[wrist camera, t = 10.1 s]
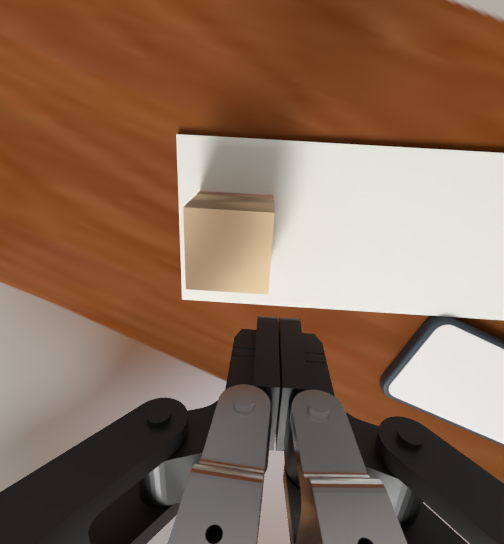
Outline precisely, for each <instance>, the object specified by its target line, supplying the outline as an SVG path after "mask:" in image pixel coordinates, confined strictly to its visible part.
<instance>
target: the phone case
mask: <svg viewBox="0 0 504 544" xmlns="http://www.w3.org/2000/svg"><path fill="white" fill-rule="evenodd" d="M380 386H381V388H382V390H383V392H384V394H385V395H386V396H388V397H390V398H392V399H394V400H397V401H399V402H401V403H404V404H406V405H408V406H411V407H413V408H415V409H418V410H420V411H422V412H425V413H427V414H429V415H432V416H434V417H436V418H439V419H441V420H443V421H446V422H448V423H450V424H453V425H455V426H457V427H460V428H462V429H464V430H467V431H469V432H471V433H474V434H476V435H478V436H481V437H483V438H485V439H488V440H490V441H492V442H495V443H497V444H499V445H502V446H504V340H501V339H499V338H497V337H495V336H493V335H491V334H489V333H486V332H484V331H482V330H480V329H478V328H476V327H474V326H471V325H469V324H467V323H465V322H463V321H461V320H459V319H456V318H454V317H444V316H431V317H430V318H428V319H427V320H426V321H425V322H424V323H423V325H422V326H421V327H420V328H419V330H418V331H417V332H416V333H415V335H414V336H413V337H412V338H411V340H410V341H409V342H408V343H407V345H406V346H405V347H404V348H403V350H402V351H401V352H400V353H399V355H398V356H397V357H396V358H395V360H394V361H393V362H392V363H391V365H390V366H389V367H388V368H387V370H386V371H385V372H384V373H383V375H382V376H381V378H380Z"/></svg>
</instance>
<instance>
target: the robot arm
mask: <svg viewBox="0 0 504 544" xmlns="http://www.w3.org/2000/svg"><path fill="white" fill-rule="evenodd" d="M324 354H325V353H324V349H323V344H322V342H321V341H320V340H319V339H318V338H317V337H316V336H315V334H307V333H302V330H301V323H300V319H293V318H279V323H278V317H263V316H258V320H257V330H249V329H242V330H241V331H240V332H239V333H238V334H237V335H236V336H235V338H234V344H233V349H232V355H231V361H230V367H229V372H228V378H227V384H226V389H225V391H224V392H223V393H222V394H221V396H220V397H219V400H218V401H216V402H215V403H213V404H212V405H210V406H207V407H204V408H200V409H195V410H189V411H187V409H186V408H185V406H184V405H183V404H182V403H181V402H179V401H177V400H175V399H171V398H157V399H154V400H150V401H148V402H146V403H144V404H142V405H141V406H139V407H138V408H136V409H134V410H133V411H131V412H129V413H128V414H126V415H125V416H123V417H121V418H120V419H118V420H116V421H115V422H113V423H112V424H110V425H108V426H107V427H105V428H104V429H102V430H100V431H99V432H97V433H95V434H94V435H92V436H90V437H89V438H87V439H86V440H84V441H82V442H81V443H79V444H78V445H76V446H74V447H73V448H71V449H69V450H68V451H66V452H65V453H63V454H61V455H60V456H58V457H57V458H55V459H53V460H52V461H50V462H48V463H47V464H45V465H44V466H42V467H40V468H39V469H37V470H36V471H34V472H32V473H31V474H29V475H27V476H26V477H24V478H23V479H21V480H19V481H18V482H16V483H14V484H13V485H11V486H10V487H8V488H6V489H5V490H3V491H2V492H0V544H147V543H148V542H149V541H150V540H151V539H152V538H153V537H154V536H155V535H156V534H157V533H158V532H159V531H160V530H161V529H162V528H163V527H164V526H165V525H166V524H167V523H169V522H170V520H172V519H173V518H174V517H175V516H176V515H177V516H176V519H175V522H174V525H173V528H172V532H171V535H170V538H169V541H168V544H257V543H258V533H259V523H260V513H261V503H262V493H263V483H264V474H265V472H266V470H267V466H268V456H269V450H274V442H275V433H276V451H284V456H285V457H284V458H285V465H284V473H283V482H284V492H285V501H286V510H287V518H288V528H289V536H290V544H468V543H466V542H465V541H464V540H463V539H462V538H461V537H460V536H459V535H457V534H456V533H455V532H454V531H453V530H452V529H451V528H450V527H449V526H448V525H446V524H445V523H444V522H443V521H442V520H441V519H440V518H439V517H438V516H437V515H436V514H434V513H433V512H432V511H431V510H430V509H429V508H428V507H426V505H424V504H423V502H425V503H426V504H427V505H428V506H429V507H430V508H431V509H432V510H433V511H434V512H436V513H437V514H438V515H439V516H440V517H441V518H442V519H443V520H445V521H446V522H447V523H448V524H449V525H450V526H451V527H452V528H453V529H454V530H456V531H457V532H458V533H459V534H460V535H461V536H462V537H463V538H465V539H466V540H467V541H468V542H469V543H470V544H504V484H503V483H502V482H501V481H499V480H498V479H496V478H495V477H494V476H492V475H491V474H490V473H488V472H487V471H485V470H484V469H483V468H481V467H480V466H479V465H477V464H476V463H474V462H473V461H472V460H470V459H469V458H467V457H466V456H465V455H463V454H462V453H461V452H459V451H458V450H456V449H455V448H454V447H452V446H451V445H450V444H448V443H447V442H445V441H444V440H443V439H441V438H440V437H439V436H437V435H436V434H434V433H433V432H432V431H430V430H429V429H427V428H426V427H425V426H423V425H422V424H420V423H418V422H416V421H414V420H412V419H409V418H405V417H390V418H387V419H385V420H384V421H382V423H381V424H380V427H379V426H376V425H373V424H370V423H367V422H364V421H361V420H359V419H356V418H354V417H353V416H351V415H349V414H348V413H347V412H346V411H345V409H344V407H343V405H342V403H341V402H340V401H339V400H338V399H337V398H336V397H335V396H334V392H333V387H332V383H331V379H330V374H329V370H328V366H327V364H326V357H325V355H324Z"/></svg>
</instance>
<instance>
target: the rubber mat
mask: <svg viewBox="0 0 504 544" xmlns="http://www.w3.org/2000/svg"><path fill="white" fill-rule="evenodd" d="M176 140H177V168H178V197H179V226H180V254H181V283H182V300H198V301H213V302H229V303H244V304H259V305H275V306H290V307H306V308H321V309H336V310H352V311H367V312H383V313H398V314H414V315H429V316H444V317H460V318H475V319H491V320H504V153H499V152H481V151H464V150H446V149H429V148H411V147H394V146H377V145H359V144H342V143H324V142H307V141H289V140H272V139H254V138H237V137H220V136H202V135H185V134H176ZM199 191H208V192H225V193H242V194H259V195H273V200H274V211H275V215H274V228H273V240H272V253H271V266H270V279H269V291H268V294H253V293H237V292H222V291H206V290H190V289H186V280H185V248H184V216H183V207H184V206H185V205H186V204H187V203H188V202H189V201H190V200H191V199H192V198H193V197H194V196H195V195H196V194H197V193H198V192H199Z"/></svg>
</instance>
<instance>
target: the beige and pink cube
mask: <svg viewBox="0 0 504 544" xmlns="http://www.w3.org/2000/svg"><path fill="white" fill-rule="evenodd" d="M274 215H275V211H274V200H273V195H259V194H242V193H225V192H208V191H199V192H198V193H197V194H196V195H195V196H194V197H193V198H192V199H191V200H190V201H189V202H188V203H187V204H186V205H185V206H184V207H183V216H184V248H185V280H186V289H190V290H206V291H222V292H237V293H253V294H268V291H269V279H270V266H271V253H272V240H273V228H274Z"/></svg>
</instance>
